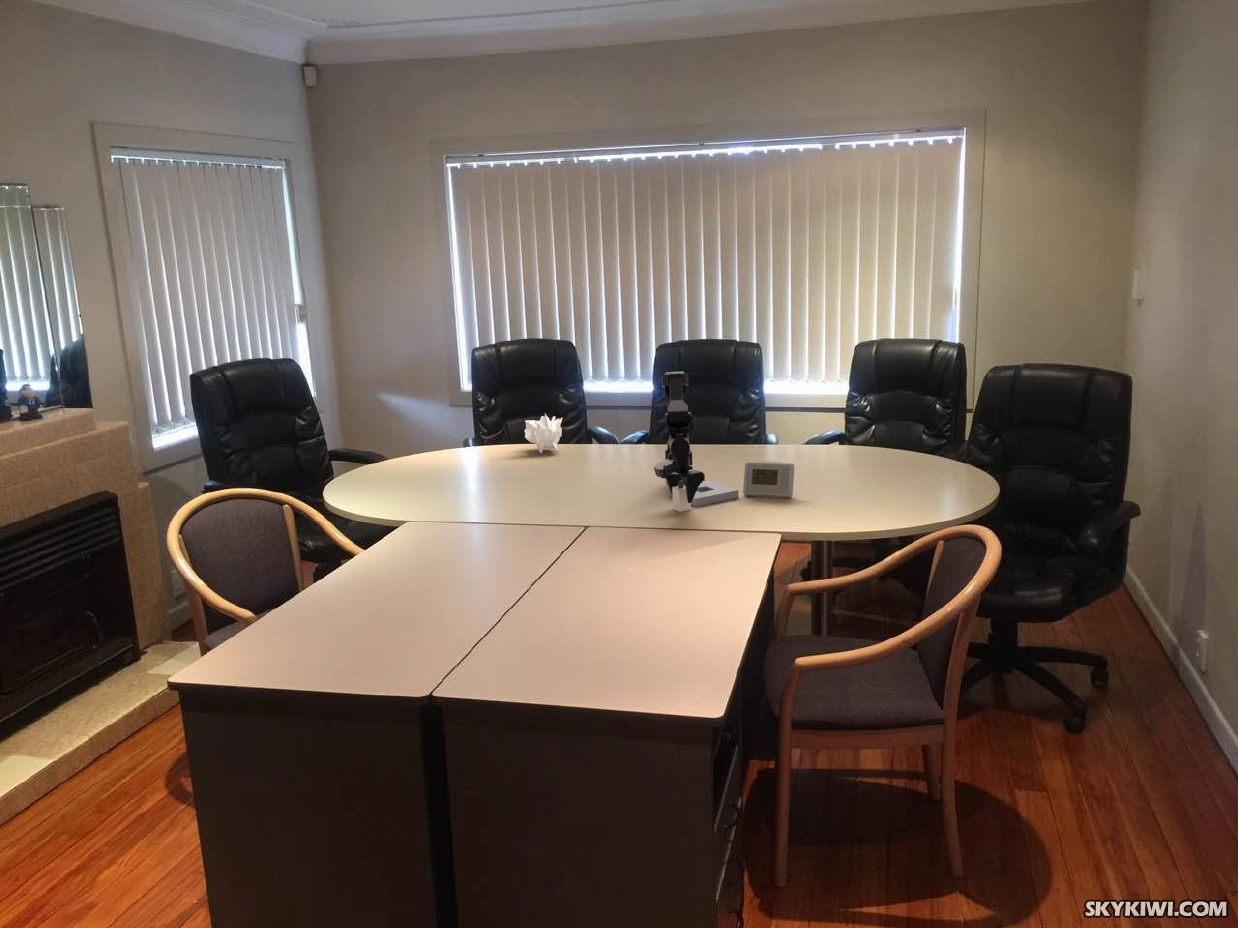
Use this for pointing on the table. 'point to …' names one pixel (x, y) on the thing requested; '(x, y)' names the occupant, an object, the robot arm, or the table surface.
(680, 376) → the robot arm
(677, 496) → the plug
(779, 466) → the digital clock
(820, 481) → the table surface
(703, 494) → the socket plate
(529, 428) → the crumpled paper
